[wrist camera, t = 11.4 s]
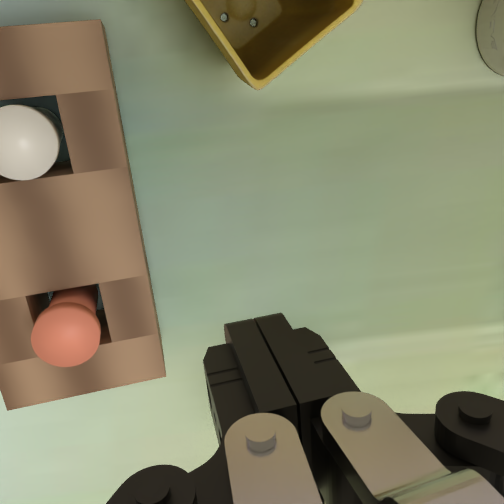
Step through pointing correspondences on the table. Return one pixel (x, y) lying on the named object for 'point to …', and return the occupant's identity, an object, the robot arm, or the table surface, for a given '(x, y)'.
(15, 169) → the grey plug
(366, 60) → the table surface
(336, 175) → the table surface
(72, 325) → the red plug
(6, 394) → the block
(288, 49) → the flower pot
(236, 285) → the table surface
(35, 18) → the table surface
